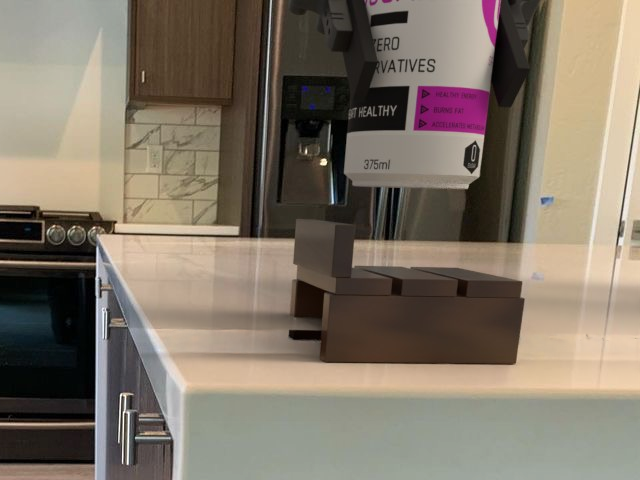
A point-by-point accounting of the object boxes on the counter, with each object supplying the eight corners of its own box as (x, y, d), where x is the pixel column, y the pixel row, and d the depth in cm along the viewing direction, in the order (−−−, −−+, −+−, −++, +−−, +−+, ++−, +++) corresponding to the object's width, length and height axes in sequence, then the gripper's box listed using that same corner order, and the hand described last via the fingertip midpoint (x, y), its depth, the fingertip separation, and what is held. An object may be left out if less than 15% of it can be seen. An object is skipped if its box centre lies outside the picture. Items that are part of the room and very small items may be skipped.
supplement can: (479, 190, 62) (510, -69, 58) (475, 188, 54) (511, -109, 50) (353, 186, 64) (374, -62, 60) (334, 185, 57) (356, -99, 53)
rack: (453, 339, 68) (466, 223, 65) (516, 364, 58) (534, 229, 56) (288, 337, 67) (295, 218, 64) (324, 362, 57) (335, 224, 55)
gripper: (504, -81, 69) (582, 142, 59) (220, -98, 67) (249, 130, 57) (550, -193, 63) (647, 36, 52) (237, -216, 61) (273, 18, 50)
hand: (440, 85), depth 55 cm, fingers closed on supplement can, 8 cm apart
